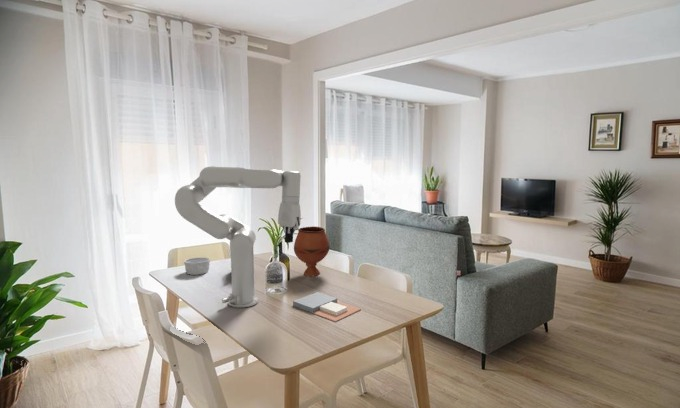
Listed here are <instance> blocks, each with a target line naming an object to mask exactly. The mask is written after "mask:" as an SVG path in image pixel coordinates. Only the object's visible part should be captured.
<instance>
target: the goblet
mask: <svg viewBox="0 0 680 408" xmlns="http://www.w3.org/2000/svg"><path fill="white" fill-rule="evenodd" d="M294 240H295V241H294V244H293V251H294V254H295V256H296V257H297V259H299V261H301V262H303V263H304V264H305V266H306V267H307V268H306V269H305V270H304V271H303V275H305V276H306V277H307V276H308V277H315V276H318V275H320V274H321V272H320V270H319V269H318V268H317V264H318V263H319V262H321V261H322V260H324V259H325V258H326V256H327V255H328V253H329V251H330V242H329V239H328V236H327V233H326V229H325V228H324V227H320V226H305V227H304V226H303V227H300V228H299V230H297V234H296V237H295V239H294Z"/></svg>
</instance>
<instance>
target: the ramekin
mask: <svg viewBox="0 0 680 408" xmlns="http://www.w3.org/2000/svg"><path fill="white" fill-rule="evenodd" d="M210 263H211V259H210V258H208V257H203V256H199V257H197V256H196V257H191V258H187V259H184V261H183V264H184V269H185V272H186V274H187V275H189V274H190V276H199V274H201V275H203V274H204V273H205V274H207V273H208V272H209V270H210Z"/></svg>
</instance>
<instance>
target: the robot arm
mask: <svg viewBox="0 0 680 408" xmlns="http://www.w3.org/2000/svg"><path fill="white" fill-rule="evenodd" d="M277 187H282V188H281V201H280V204H279V206H278V207H279V208H278V215H277V217H278V218H277V224H278V225H280V227H281V228H282V229H283V232H284V243H288V244H289V243H290V244H291V243H293V242H294V233H295V232H296V231H298V230H299V229H300V228H299V227H300V226H301V219H302V218H301V216H302V215H301V204H300V200H301V199H300V196H301V172H299V171H295V170H279V169H275V168H274V169H251V168H249V169H248V168H244V167H238V166H237V167H232V166H215V165H214V166H212V165H211V166H206V167H204V168H202V169H201V171H200V172H199V176H198V177H196V179H194V180H193V181H192V182H191V183H190V184H185V185H184V186H181V187H180V188H179V189H177V190H176V193H175V196H174V206H175V208H176V211H177V213H178V214H179V216H181V217H182V218H183V219H185V220H186V221H187V222H189V223H190V224H192V225H194V226H195V227H197V228H198V229H200V230H201V231H203V232H205V233H207V234H208V235H210V236H212V237H213V238H215V239H217V240H223V239H227V240H229V241H230V242H229V253H230V268H231V270H230V271H231V273H230V274H231V293H229V295H228V297H224V298H222V299H221V303H222V304H226V303H228V305H229V306H230V307H233V308H239V309H241V308H249V307H252V306H255V305H257V304H258V303H259V297H257V296H256V295H255V292H256V291H255V257H254V256H255V254H254V245H255V242H256V240H257V239H256V237H257V236H256V233H255V231H254V230H253V229H252V228H251V227H249V226H248V225H247V224H244V223H242V222H241V221H240V220H237V219H236V218H234V217H233V216H231V215H229V214H217V213H215V212H213V211H211V210H210V209H209V208H207V207H204V206H202V205H200V202H202V201H203V200H204V199H205V198H206V197H207V196H209V195H210V194H211V193H212V192H213V191H214V190H215V189H216V188H234V189H246V188H247V189H277Z"/></svg>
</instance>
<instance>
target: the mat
mask: <svg viewBox="0 0 680 408" xmlns="http://www.w3.org/2000/svg"><path fill="white" fill-rule="evenodd" d="M337 304H340V305H343V306H346V307H348V308H347V311H345V312H343V313H341V314H339V315H337V316H336V315H333V314H330V313H327V312H324V311H322V310H319V311H316V312H314V313H312V314H313V315H315V316H319V317H320V318H324V319H327V320H329V321H331V322H335V323H336V322H339V321H340V320H344V319H345V318H347V317H349V316H352V315H353V314H355V313H357V312H360V311H361V310H362V309H361V308H359V307H356V306H352V305H349V304H346V303H343V302H341V301H337Z"/></svg>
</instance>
